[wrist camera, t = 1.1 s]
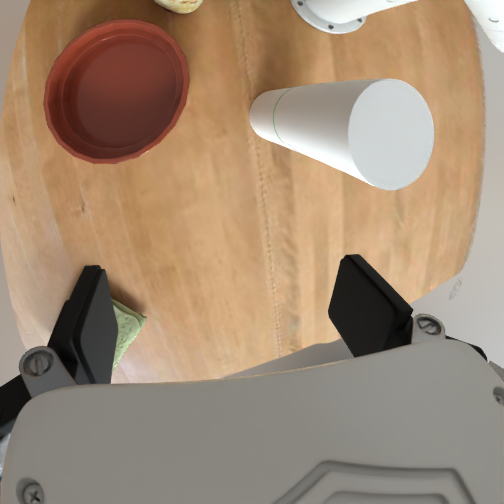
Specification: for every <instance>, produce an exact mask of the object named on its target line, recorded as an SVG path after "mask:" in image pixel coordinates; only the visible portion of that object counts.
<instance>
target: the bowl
mask: <svg viewBox="0 0 504 504" xmlns="http://www.w3.org/2000/svg"><path fill="white" fill-rule="evenodd" d="M188 87H189V74H188V68H187V62H186V57H185V56H184V54H183V52H182V51H181V49H180V47H179V45H178V44H177V42H176V40H175V39H174V38H173V37H171V36H170V35H169V34H168V33H166V32H165V31H164V30H163V29H161V28H160V27H159V26H157V25H154V24H151V23H148V22H145V21H142V20H138V19H116V20H111V21H108V22H105V23H102V24H99V25H96V26H93V27H91V28H89V29H88V30H86V31H85V32H83V33H82V34H80V35H79V36H78V37H76V38H75V39H73V40H72V41H71V42H70V43H69V44H68V45H67V46H66V48H65V49H64V50H63V51H62V53H61V54H60V55H59V56H58V58H57V59H56V60H55V62H54V65H53V67H52V69H51V71H50V74H49V76H48V78H47V81H46V86H45V94H44V103H43V105H44V110H45V116H46V121H47V125H48V127H49V129H50V131H51V132H52V134H53V136H54V137H55V139H56V141H57V143H58V144H59V145H61V146H62V147H63V148H64V149H65V150H67V151H68V152H69V153H70V154H71V155H73V156H74V157H77V158H79V159H82V160H85V161H88V162H91V163H94V164H117V163H120V162H124V161H127V160H131V159H134V158H137V157H139V156H141V155H142V154H144V153H145V152H147V151H149V150H150V149H152V148H153V147H155V146H157V145H158V144H159V143H160V142H161V141H162V140H163V139H164V137H165V136H166V135H167V134H168V133H169V132H170V131H171V130H172V129H173V128H174V126H175V125H176V123H177V121H178V119H179V117H180V115H181V113H182V111H183V109H184V107H185V105H186V100H187V93H188Z"/></svg>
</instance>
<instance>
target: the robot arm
mask: <svg viewBox="0 0 504 504" xmlns="http://www.w3.org/2000/svg"><path fill="white" fill-rule="evenodd" d="M290 1H291V3H292V5H293V7H294V9H295V10H296V11H297V13H298V14H299V15H300V16H301V17H302V18H303V19H304V20H305V21H306V22H308V23H309V24H310V25H312V26H313V27H315V28H317V29H319V30H322V31H324V32H328V33H333V34H344V33H349V32H352V31H354V30H356V29H358V28H359V27H360V26H362V25H363V23H364V22H365V20H366V18H367V15H369V14H372V13H375V12H378V11H382V10H385V9H388V8H391V7H395V6H398V5H402V4H405V3H409V2H413V1H418V0H290ZM464 1H465V3H466V4H467V6H468V7H469V9H470V10H471V12H472V13H473V15H474V16H475V18H476V20H477V21H478V23H479V24H480V26H481V28H482V29H483V31H484V32H485V34H486V35H487V37H488V38H489V40H490V41H491V42H492V44H493V45H494V46H495V47H496V48H497V49H498V50H500V51H501V52H503V53H504V0H464ZM298 4H299V5H298ZM329 28H330V29H329ZM412 312H413V309H412V308H411V307H410V305H409V304H408V303H407V302H406V301H405V300H404V299H403V298H402V297H401V296H400V295H399V294H398V293H397V292H396V291H395V290H394V289H393V288H392V287H391V286H390V285H389V284H388V283H387V281H386V280H385V279H384V278H383V277H382V276H381V275H380V274H379V273H378V272H377V271H376V270H375V269H374V268H373V267H372V266H371V265H370V264H369V263H368V262H367V261H366V260H365V259H364V258H363V257H361V256H360V255H359V254H353V255H346V256H345V257H344V258H343V259H341V261H340V265H339V270H338V274H337V278H336V282H335V286H334V290H333V294H332V298H331V301H330V305H329V309H328V315H329V318H330V319H331V321H332V323H333V324H334V326H335V327H336V329H337V330H338V332H339V334H340V335H341V337H342V338H343V340H344V341H345V343H346V345H347V346H348V348H349V349H350V351H351V353H352V354H353V356H354V358H352V359H347V360H342V361H338V362H333V363H327V364H322V365H317V366H311V367H306V368H300V369H294V370H288V371H281V372H274V373H267V374H260V375H252V376H243V377H234V378H224V379H213V380H201V381H186V382H165V383H126V384H110V383H111V376H112V369H113V362H114V355H115V349H116V343H117V338H118V323H117V319H116V315H115V311H114V307H113V303H112V298H111V294H110V289H109V285H108V280H107V275H106V271H105V269H101V267H100V266H99V265H92V266H85V267H84V269H83V271H82V273H81V275H80V277H79V279H78V281H77V284H76V286H75V288H74V290H73V292H72V295H71V297H70V299H69V300H67V301H66V302H65V303H64V306H63V308H62V310H61V313H60V315H59V317H58V320H57V322H56V324H55V327H54V329H53V332H52V334H51V337H50V340H49V342H48V345H47V347H46V346H38V347H35V348H32V349H30V350H29V351H27V352H26V353H25V354H24V355H23V356H22V358H21V360H20V362H19V370H20V373H21V374H20V375H18V376H17V377H15V378H14V379H12V380H11V381H9V382H7V383H6V384H4V385H3V386H1V387H0V504H504V369H503V368H501V367H500V366H498V365H496V364H495V363H493V362H491V361H490V362H489V363H488V362H487V357H486V355H485V354H484V352H483V350H482V349H481V348H479V347H477V346H474V345H471V344H469V343H466V342H463V341H460V340H457V339H454V338H451V337H449V336H446V335H445V328H444V325H443V324H442V322H440V321H439V320H438V319H437V318H435V317H433V316H431V315H428V314H418V315H416V316H415V317H414V318H412V317H411V314H412Z"/></svg>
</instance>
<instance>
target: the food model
mask: <svg viewBox="0 0 504 504" xmlns="http://www.w3.org/2000/svg"><path fill="white" fill-rule="evenodd" d="M154 1H155V2H156V3H157V4H158V5H160V6H161V7H162V8H164V9H166V10H167V11H169V12H172V13H176V14H186V13H190V12H192V11H194V10H196V9H197V8H198V7H199V5H200V4H201V3H202V2H203V0H154Z"/></svg>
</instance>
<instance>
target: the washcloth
mask: <svg viewBox="0 0 504 504" xmlns="http://www.w3.org/2000/svg"><path fill="white" fill-rule="evenodd" d="M112 303H113V307H114V311H115V315H116V319H117V323H118V338H117V343H116V349H115V355H114V362H113V369H112V371H113V370H114V368H115V366H116V365H117V363H118V361H119V359H120V358H121V357H122V355H123V354H124V352H125V351H126V349H127V347H128V346H129V345H130V343H131V342H132V341H133V340H134V339H135V337H136V336H137V335H138V333H139V332H140V331H141V330H140V329H141V328H142V327H143V325H144V323H145V322H146V320H147V317H145V316H143V315H142V314H139V313H136V312H134V311H132V310H131V309H129V308H128V307H126V306H124V305H123V304H121V303H119V302H118V301H116V300H114V299H112Z"/></svg>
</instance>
